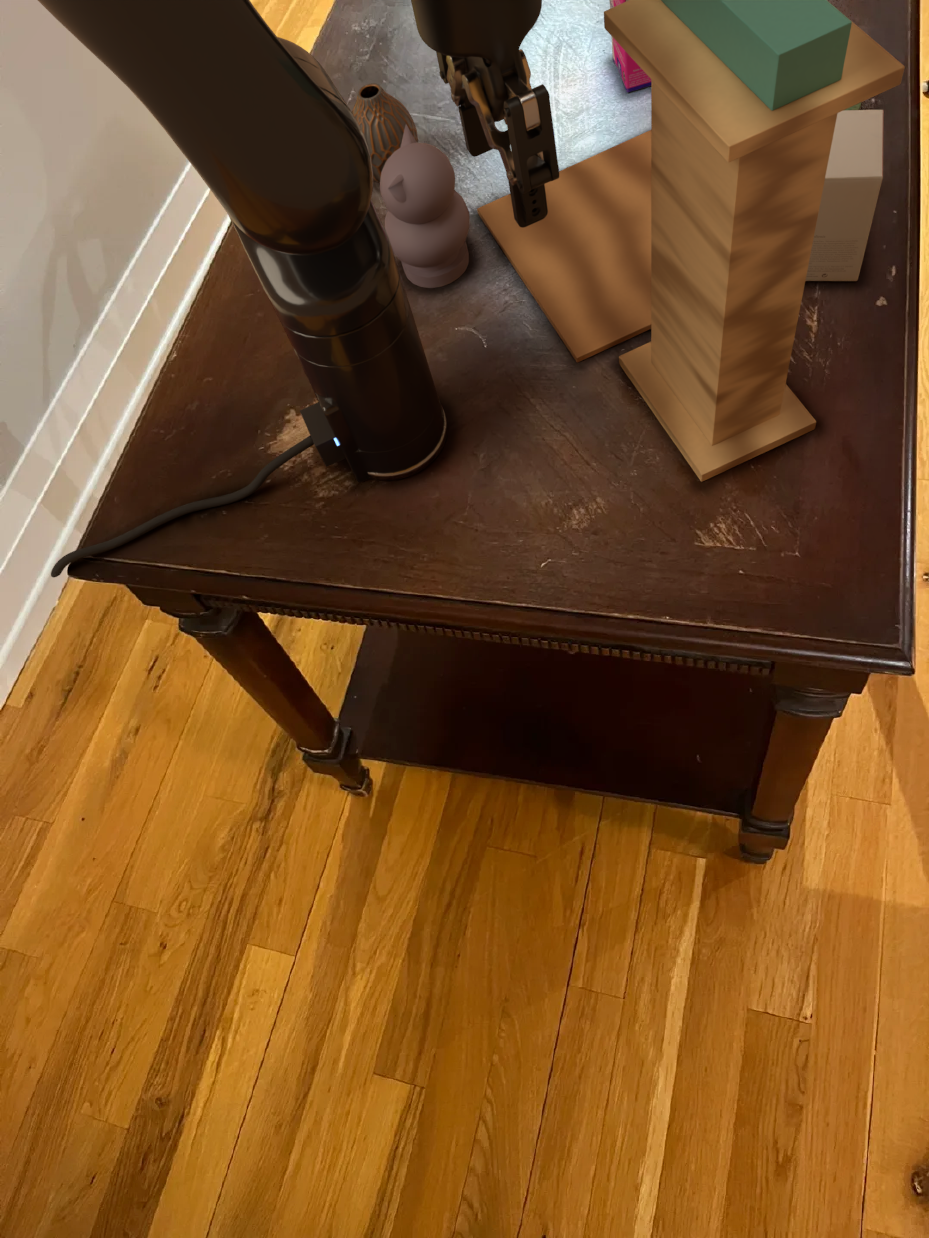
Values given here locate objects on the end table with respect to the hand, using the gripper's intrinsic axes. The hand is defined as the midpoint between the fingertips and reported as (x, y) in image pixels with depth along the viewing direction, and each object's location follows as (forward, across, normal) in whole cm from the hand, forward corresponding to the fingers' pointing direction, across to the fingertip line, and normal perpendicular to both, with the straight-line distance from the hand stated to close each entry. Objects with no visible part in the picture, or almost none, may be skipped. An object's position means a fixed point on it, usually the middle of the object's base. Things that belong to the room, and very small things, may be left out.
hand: (506, 184), depth 66 cm
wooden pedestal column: (+18, +11, +11) cm, 24 cm away
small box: (+19, +2, +27) cm, 33 cm away
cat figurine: (+18, -16, -3) cm, 25 cm away
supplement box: (+18, -29, +26) cm, 43 cm away
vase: (+18, -31, -2) cm, 36 cm away
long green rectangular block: (-12, +6, +11) cm, 17 cm away
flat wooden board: (+18, -9, +13) cm, 24 cm away
